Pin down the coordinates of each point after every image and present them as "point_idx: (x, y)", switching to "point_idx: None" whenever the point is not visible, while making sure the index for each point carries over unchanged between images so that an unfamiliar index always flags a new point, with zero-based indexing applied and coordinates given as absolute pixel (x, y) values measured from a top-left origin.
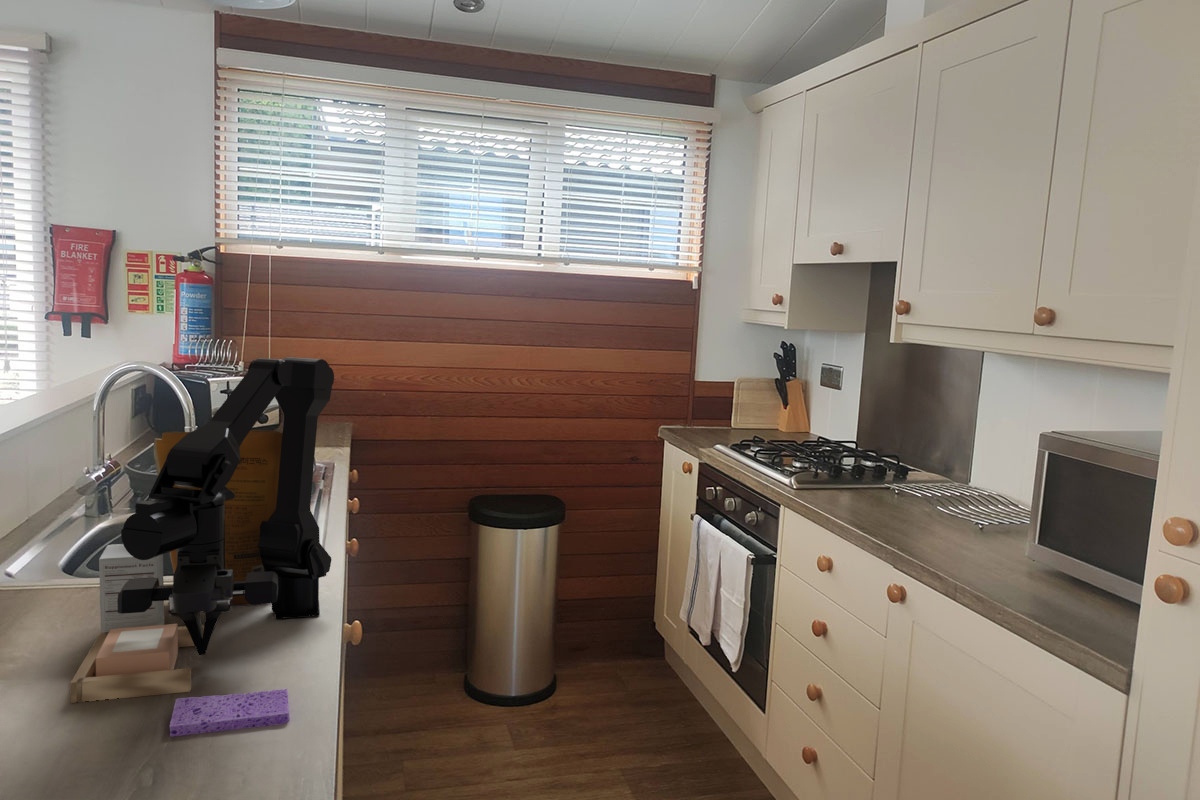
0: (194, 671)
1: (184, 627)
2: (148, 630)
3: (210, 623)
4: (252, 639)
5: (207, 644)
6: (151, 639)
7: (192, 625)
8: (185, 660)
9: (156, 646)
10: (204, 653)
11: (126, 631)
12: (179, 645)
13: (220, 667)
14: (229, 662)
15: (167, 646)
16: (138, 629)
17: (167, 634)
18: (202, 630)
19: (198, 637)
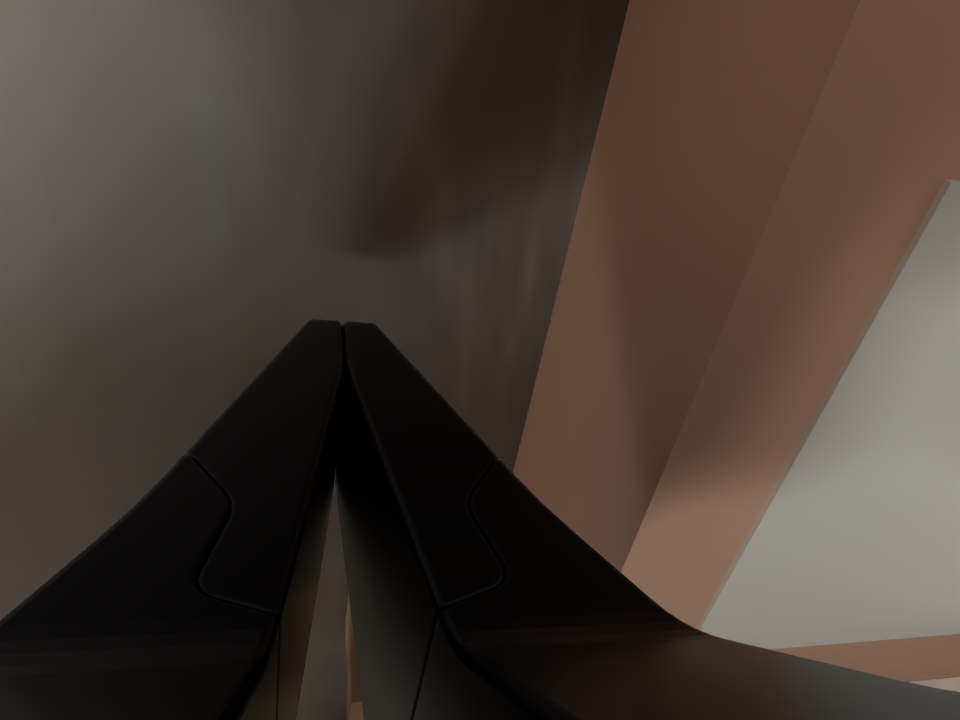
0: (404, 166)
1: None
2: (803, 630)
3: (171, 567)
4: None
5: (276, 363)
6: (870, 458)
7: (494, 553)
8: (465, 400)
9: (930, 238)
10: (317, 324)
11: (944, 630)
12: None
13: (164, 180)
14: (95, 272)
15: (811, 207)
16: (848, 655)
17: (691, 546)
18: (354, 681)
19: (384, 423)
